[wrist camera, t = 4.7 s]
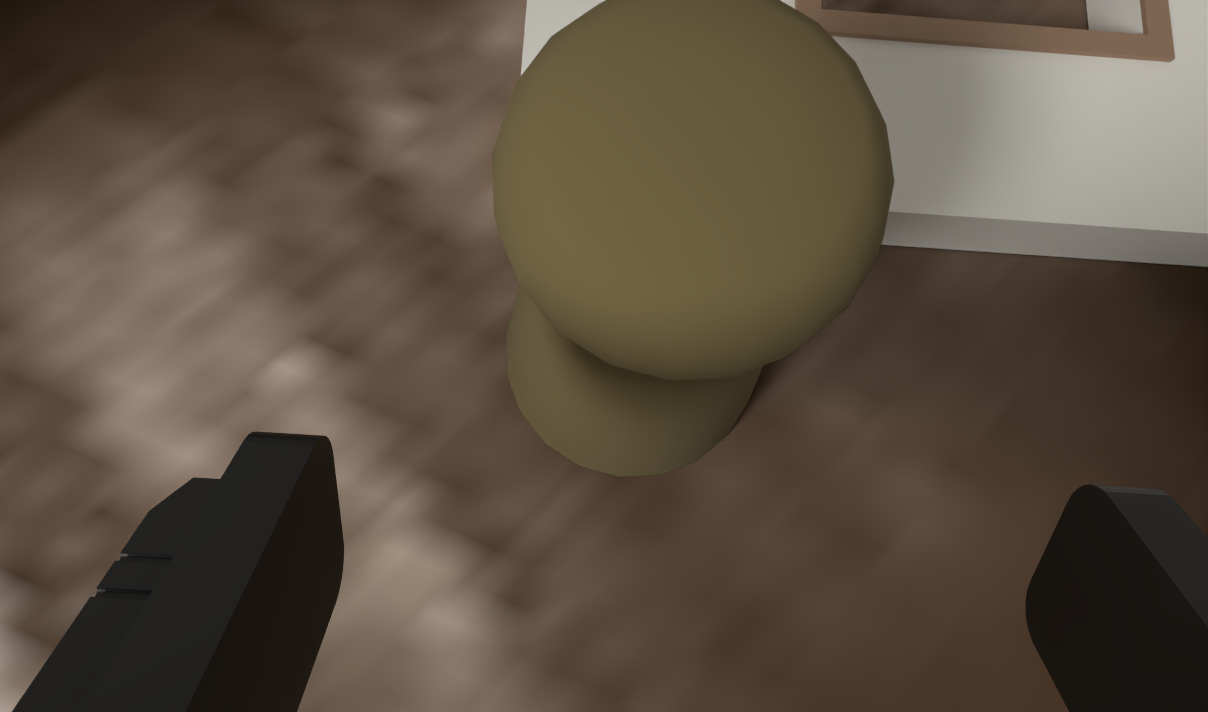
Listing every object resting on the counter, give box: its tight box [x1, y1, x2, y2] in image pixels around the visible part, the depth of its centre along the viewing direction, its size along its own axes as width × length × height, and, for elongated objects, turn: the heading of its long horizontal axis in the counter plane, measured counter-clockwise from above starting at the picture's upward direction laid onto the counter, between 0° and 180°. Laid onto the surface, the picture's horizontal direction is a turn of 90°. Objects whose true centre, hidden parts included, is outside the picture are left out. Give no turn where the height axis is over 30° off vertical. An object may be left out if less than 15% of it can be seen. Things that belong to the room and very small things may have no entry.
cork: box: [492, 0, 895, 477], centre depth 15 cm, size 6×6×11 cm
